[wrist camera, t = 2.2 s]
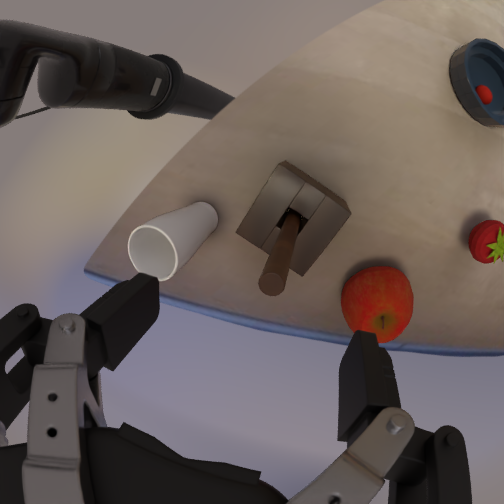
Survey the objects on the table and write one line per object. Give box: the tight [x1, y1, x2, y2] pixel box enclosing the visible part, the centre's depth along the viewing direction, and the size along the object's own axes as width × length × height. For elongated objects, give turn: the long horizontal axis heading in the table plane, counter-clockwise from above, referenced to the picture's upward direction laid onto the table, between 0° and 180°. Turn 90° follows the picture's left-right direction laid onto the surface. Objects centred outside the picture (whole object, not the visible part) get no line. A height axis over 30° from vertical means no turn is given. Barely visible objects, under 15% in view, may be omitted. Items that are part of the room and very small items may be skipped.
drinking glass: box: [128, 202, 218, 281], centre depth 35 cm, size 7×7×15 cm
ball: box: [475, 85, 492, 104], centre depth 23 cm, size 3×3×3 cm
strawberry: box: [468, 220, 504, 263], centre depth 28 cm, size 6×8×10 cm
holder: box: [236, 160, 351, 277], centre depth 35 cm, size 10×10×7 cm
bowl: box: [450, 39, 504, 127], centre depth 21 cm, size 13×13×6 cm
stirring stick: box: [258, 208, 302, 296], centre depth 28 cm, size 2×2×22 cm
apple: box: [341, 266, 413, 343], centre depth 35 cm, size 11×11×11 cm
